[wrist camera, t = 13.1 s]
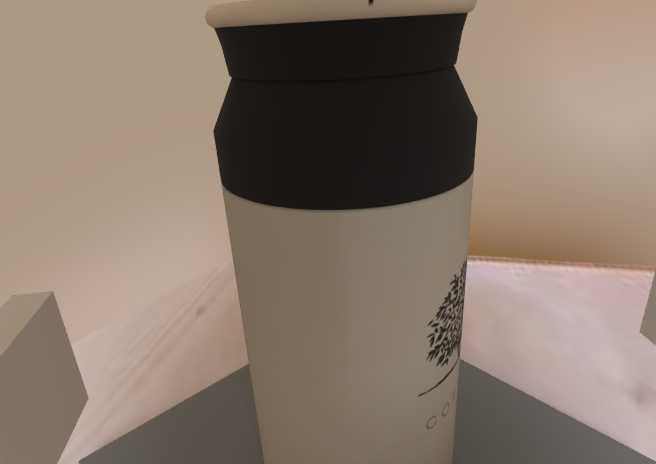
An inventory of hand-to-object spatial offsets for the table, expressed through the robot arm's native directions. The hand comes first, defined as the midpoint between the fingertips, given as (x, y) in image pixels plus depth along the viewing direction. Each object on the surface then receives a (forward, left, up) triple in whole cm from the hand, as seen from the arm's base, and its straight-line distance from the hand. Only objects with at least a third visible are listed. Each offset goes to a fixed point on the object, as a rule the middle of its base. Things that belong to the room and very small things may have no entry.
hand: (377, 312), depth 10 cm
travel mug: (-4, -5, -12) cm, 13 cm away
